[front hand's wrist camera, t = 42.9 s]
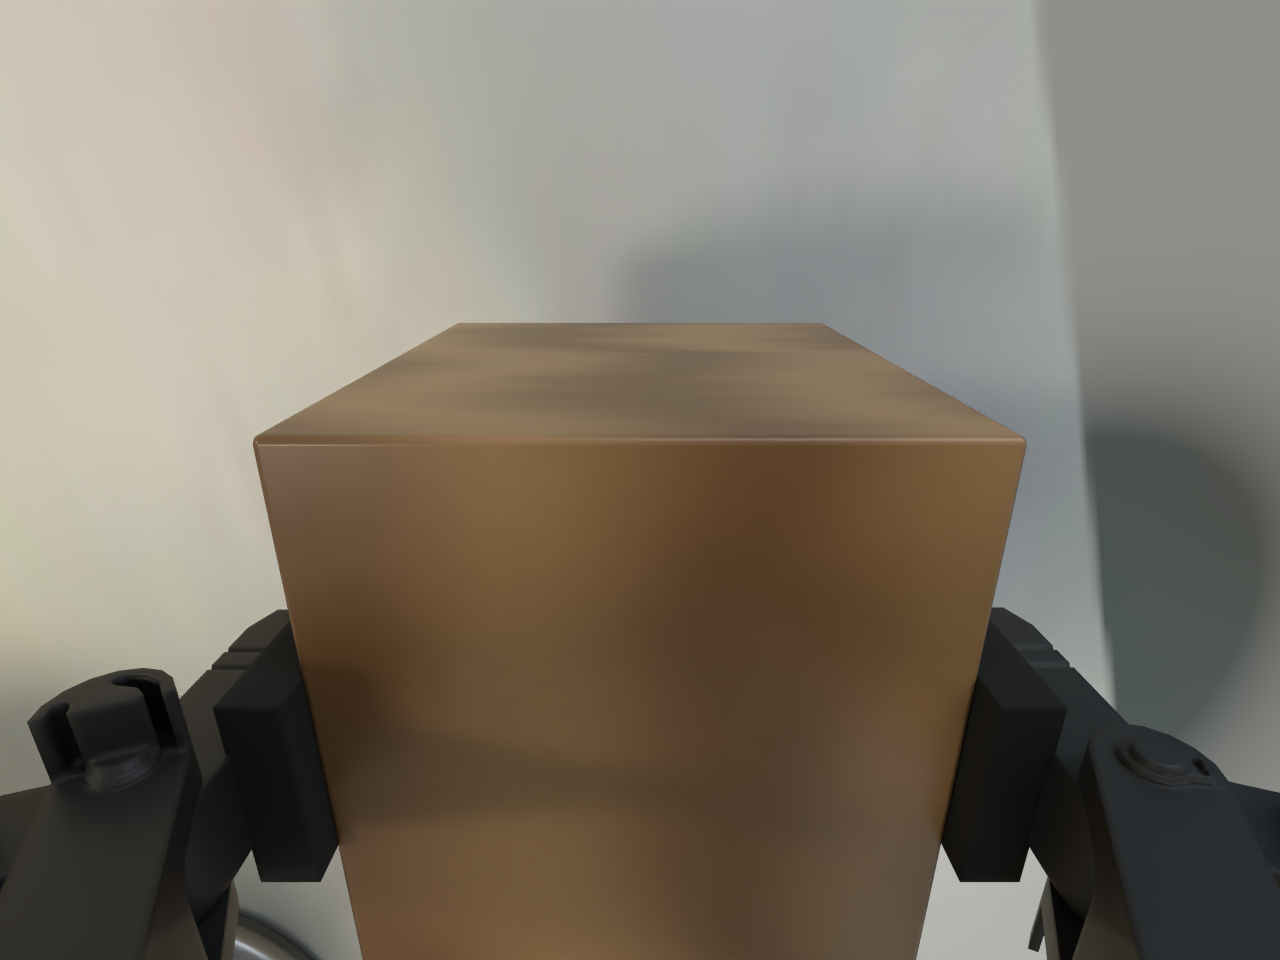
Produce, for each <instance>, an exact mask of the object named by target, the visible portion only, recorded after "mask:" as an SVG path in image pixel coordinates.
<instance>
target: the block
mask: <svg viewBox="0 0 1280 960" xmlns="http://www.w3.org/2000/svg"><path fill="white" fill-rule="evenodd" d="M253 448H254V452H255V457H256V462H257V466H258V471H259V476H260V480H261V485H262V490H263V494H264V499H265V504H266V509H267V513H268V518H269V523H270V527H271V532H272V537H273V541H274V546H275V551H276V555H277V560H278V565H279V569H280V574H281V579H282V583H283V588H284V593H285V597H286V602H287V607H288V611H289V616H290V621H291V625H292V630H293V635H294V640H295V644H296V649H297V654H298V658H299V663H300V668H301V672H302V677H303V682H304V686H305V691H306V696H307V700H308V705H309V710H310V714H311V719H312V724H313V728H314V733H315V738H316V742H317V747H318V752H319V756H320V761H321V766H322V771H323V775H324V780H325V785H326V789H327V794H328V799H329V803H330V808H331V813H332V817H333V822H334V827H335V831H336V836H337V841H338V845H339V850H340V855H341V859H342V864H343V869H344V873H345V878H346V883H347V887H348V892H349V897H350V902H351V906H352V911H353V916H354V920H355V925H356V930H357V934H358V939H359V944H360V948H361V953H362V958H363V960H916V957H917V952H918V948H919V943H920V938H921V934H922V929H923V924H924V920H925V915H926V910H927V906H928V901H929V896H930V892H931V887H932V883H933V878H934V873H935V869H936V864H937V859H938V855H939V850H940V845H941V841H942V836H943V831H944V827H945V822H946V817H947V813H948V808H949V804H950V799H951V794H952V790H953V785H954V780H955V776H956V771H957V766H958V762H959V757H960V752H961V748H962V743H963V738H964V734H965V729H966V725H967V720H968V715H969V711H970V706H971V701H972V697H973V692H974V687H975V683H976V678H977V673H978V669H979V664H980V659H981V655H982V650H983V646H984V641H985V636H986V632H987V627H988V622H989V618H990V613H991V608H992V604H993V599H994V594H995V590H996V585H997V580H998V576H999V571H1000V567H1001V562H1002V557H1003V553H1004V548H1005V543H1006V539H1007V534H1008V529H1009V525H1010V520H1011V515H1012V511H1013V506H1014V501H1015V497H1016V492H1017V488H1018V483H1019V478H1020V474H1021V469H1022V464H1023V460H1024V455H1025V450H1026V440H1025V438H1024V437H1022V436H1021V435H1019V434H1017V433H1015V432H1013V431H1012V430H1010V429H1008V428H1006V427H1005V426H1003V425H1001V424H999V423H998V422H996V421H994V420H992V419H990V418H989V417H987V416H985V415H983V414H982V413H980V412H978V411H976V410H975V409H973V408H971V407H969V406H967V405H966V404H964V403H962V402H960V401H959V400H957V399H955V398H953V397H952V396H950V395H948V394H946V393H944V392H943V391H941V390H939V389H937V388H936V387H934V386H932V385H930V384H928V383H927V382H925V381H923V380H921V379H920V378H918V377H916V376H914V375H913V374H911V373H909V372H907V371H905V370H904V369H902V368H900V367H898V366H897V365H895V364H893V363H891V362H890V361H888V360H886V359H884V358H882V357H881V356H879V355H877V354H875V353H874V352H872V351H870V350H868V349H867V348H865V347H863V346H861V345H859V344H858V343H856V342H854V341H852V340H851V339H849V338H847V337H845V336H843V335H842V334H840V333H838V332H836V331H835V330H833V329H831V328H829V327H828V326H826V325H824V324H822V323H458V324H456V325H454V326H453V327H451V328H449V329H447V330H445V331H444V332H442V333H440V334H438V335H436V336H435V337H433V338H431V339H429V340H427V341H426V342H424V343H422V344H420V345H418V346H417V347H415V348H413V349H411V350H409V351H408V352H406V353H404V354H402V355H401V356H399V357H397V358H395V359H393V360H392V361H390V362H388V363H386V364H384V365H383V366H381V367H379V368H377V369H375V370H374V371H372V372H370V373H368V374H366V375H365V376H363V377H361V378H359V379H358V380H356V381H354V382H352V383H350V384H349V385H347V386H345V387H343V388H341V389H340V390H338V391H336V392H334V393H332V394H331V395H329V396H327V397H325V398H323V399H322V400H320V401H318V402H316V403H315V404H313V405H311V406H309V407H307V408H306V409H304V410H302V411H300V412H298V413H297V414H295V415H293V416H291V417H289V418H288V419H286V420H284V421H282V422H280V423H279V424H277V425H275V426H273V427H271V428H270V429H268V430H266V431H264V432H263V433H261V434H259V435H257V436H255V438H254V441H253Z"/></svg>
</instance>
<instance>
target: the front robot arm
mask: <svg viewBox="0 0 1280 960" xmlns="http://www.w3.org/2000/svg"><path fill="white" fill-rule="evenodd" d="M228 649H229V650H228V652H224V653H223V654H222V655H221V656H220V658H219V659H218V660H217V661H216V662H215V663H214V664H213V665H212V669H211V670H207V671H206V672H205V673H204V674H203V675H202V676H201V677H200V678H199V679H198V680H197V681H196V682H195V684H194V685H193V686H192V687H191V688H190V689H189V690H188V691H187V692H186V693H185V694H184V695H183V696H182V697H181V698H180V699H179V697H178V693H177V690H176V687H175V683H174V680H173V677H171V676H170V675H168V674H167V673H165V672H164V671H162V670H155V669H147V668H139V669H130V670H122V671H116V672H113V673H109V674H106V675H103V676H99V677H96V678H92V679H90V680H87V681H85V682H83V683H81V684H79V685H76V686H74V687H72V688H70V689H68V690H65V691H63V692H62V693H60V694H59V695H58V696H56V697H55V698H53V699H52V700H50V701H49V702H47V703H46V704H44V705H43V706H41V707H40V708H39V710H38V711H37V712H36V713H35V714H34V715H33V716H32V717H31V719H30V720H29V721H28V722H27V723H28V726H29V728H30V731H31V733H32V736H33V738H34V740H35V743H36V745H37V748H38V750H39V753H40V755H41V758H42V760H43V763H44V765H45V768H46V770H47V773H48V775H49V778H50V780H51V785H48V786H44V787H39V788H35V789H30V790H25V791H21V792H16V793H12V794H7V795H3V796H0V960H310V959H309V958H308V957H307V956H306V955H305V954H303V953H302V952H301V951H300V950H299V949H297V948H296V947H295V946H294V945H292V944H291V943H290V942H288V941H287V940H285V939H284V938H282V937H281V936H279V935H277V934H276V933H274V932H272V931H271V930H269V929H267V928H265V927H263V926H261V925H259V924H257V923H255V922H253V921H251V920H249V919H246V918H244V917H241V916H239V915H238V911H239V903H238V896H237V891H236V887H235V884H234V881H233V879H234V877H235V875H236V874H237V872H238V871H239V869H240V867H241V866H242V864H243V862H244V861H245V859H246V858H247V856H248V854H249V853H250V851H251V850H252V851H253V855H254V858H255V862H256V866H257V869H258V873H259V876H260V880H261V882H321V880H322V878H323V876H324V874H325V872H326V869H327V867H328V865H329V863H330V861H331V859H332V857H333V855H334V853H335V851H336V849H337V847H338V841H337V836H336V831H335V827H334V822H333V817H332V813H331V808H330V803H329V799H328V794H327V789H326V785H325V780H324V775H323V771H322V766H321V761H320V756H319V752H318V747H317V742H316V738H315V733H314V728H313V724H312V719H311V714H310V710H309V705H308V700H307V696H306V691H305V686H304V682H303V677H302V672H301V668H300V663H299V658H298V654H297V649H296V644H295V640H294V635H293V630H292V625H291V621H290V616H289V611H288V610H277V611H275V612H273V613H272V614H270V615H268V616H267V617H265V618H263V619H262V620H260V621H258V622H257V623H255V624H253V625H252V626H250V627H248V628H247V629H246V630H245V631H244V633H243V634H242V635H241V636H240V637H239V638H238V639H237V640H236V641H235V642H234V643H233V644H232V645H231V646H230V647H229V648H228ZM941 844H942V846H943V848H944V850H945V852H946V854H947V856H948V858H949V860H950V862H951V864H952V866H953V868H954V870H955V873H956V875H957V877H958V879H959V881H960V882H1020V878H1021V875H1022V871H1023V868H1024V864H1025V860H1026V857H1027V853H1028V850H1029V847H1030V848H1031V850H1032V852H1033V853H1034V855H1035V856H1036V858H1037V860H1038V861H1039V863H1040V864H1041V866H1042V868H1043V869H1044V871H1045V873H1046V874H1047V876H1048V877H1047V881H1046V884H1045V887H1044V891H1043V894H1042V897H1041V901H1040V904H1039V907H1038V911H1037V914H1036V918H1035V921H1034V924H1033V928H1032V931H1031V935H1030V941H1029V947H1028V949H1031V950H1034V951H1036V952H1039V948H1040V945H1041V942H1042V939H1043V936H1045V944H1046V953H1047V960H1280V793H1278V792H1273V791H1269V790H1264V789H1260V788H1255V787H1251V786H1246V785H1241V784H1237V783H1233V782H1229V781H1228V780H1227V779H1226V778H1225V776H1224V775H1223V774H1222V772H1221V771H1220V770H1219V768H1218V767H1217V766H1216V764H1214V763H1213V762H1212V761H1210V760H1209V759H1208V758H1207V757H1205V756H1204V755H1203V754H1201V753H1200V752H1199V751H1198V750H1196V749H1195V748H1193V747H1191V746H1189V745H1187V744H1186V743H1184V742H1182V741H1180V740H1178V739H1176V738H1174V737H1172V736H1170V735H1168V734H1165V733H1162V732H1159V731H1155V730H1152V729H1149V728H1146V727H1143V726H1136V725H1129V724H1128V723H1127V722H1126V721H1125V720H1124V719H1123V718H1122V717H1121V716H1120V715H1119V714H1118V713H1117V712H1116V711H1115V710H1114V709H1113V708H1112V707H1111V706H1110V705H1109V704H1108V702H1107V701H1106V700H1105V699H1104V698H1103V697H1102V696H1101V695H1100V694H1099V693H1098V692H1097V691H1096V690H1095V689H1094V688H1093V687H1092V686H1091V685H1090V684H1089V683H1088V682H1087V681H1086V680H1085V679H1084V678H1083V677H1082V676H1081V675H1080V674H1079V672H1078V671H1077V670H1076V669H1075V668H1070V666H1069V662H1068V661H1067V660H1066V659H1065V658H1064V657H1063V656H1062V655H1061V654H1060V653H1059V652H1058V651H1057V650H1053V646H1052V645H1051V644H1050V643H1049V641H1048V640H1047V639H1046V638H1045V637H1044V636H1043V635H1042V634H1041V633H1040V632H1039V631H1038V630H1037V629H1036V628H1035V627H1034V626H1033V625H1032V624H1030V623H1028V622H1026V621H1025V620H1023V619H1021V618H1020V617H1018V616H1016V615H1015V614H1013V613H1011V612H1010V611H1008V610H1006V609H1005V608H991V613H990V618H989V622H988V627H987V632H986V636H985V641H984V646H983V650H982V655H981V659H980V664H979V669H978V673H977V678H976V683H975V687H974V692H973V697H972V701H971V706H970V711H969V715H968V720H967V725H966V729H965V734H964V738H963V743H962V748H961V752H960V757H959V762H958V766H957V771H956V776H955V780H954V785H953V790H952V794H951V799H950V804H949V808H948V813H947V817H946V822H945V827H944V831H943V836H942V841H941Z"/></svg>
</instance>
